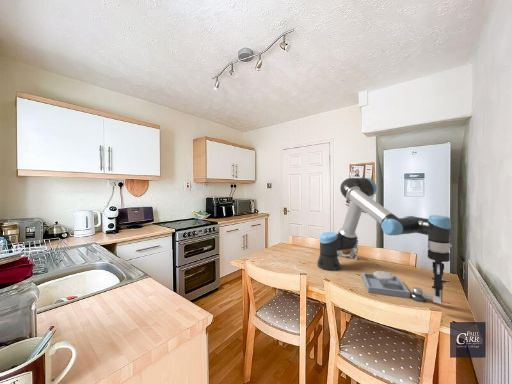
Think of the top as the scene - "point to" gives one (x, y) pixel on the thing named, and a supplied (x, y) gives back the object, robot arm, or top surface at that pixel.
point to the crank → (420, 293)
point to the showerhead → (383, 277)
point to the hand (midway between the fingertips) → (437, 302)
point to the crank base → (417, 297)
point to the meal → (348, 253)
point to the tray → (390, 288)
